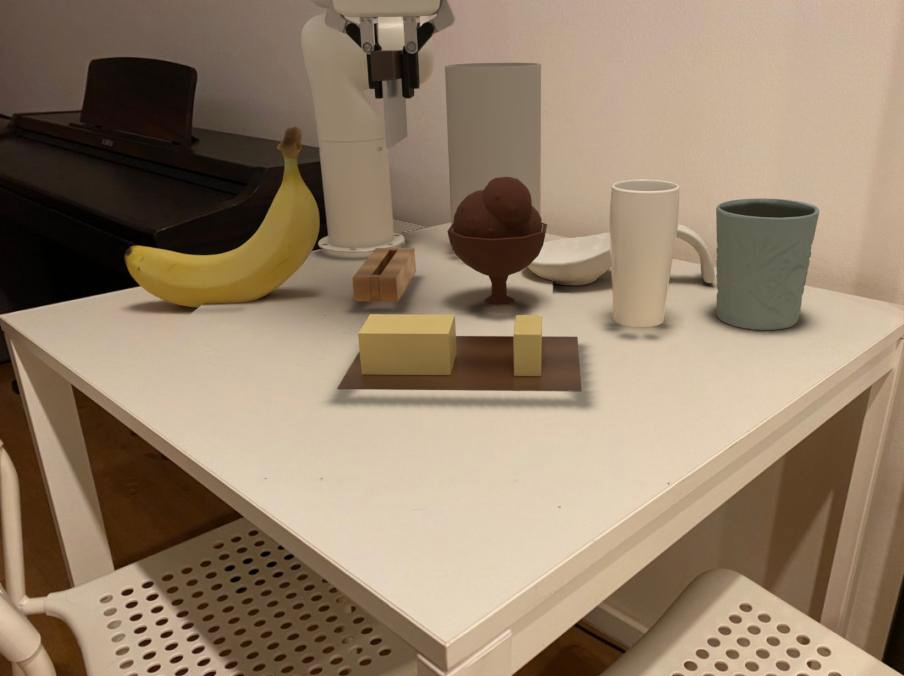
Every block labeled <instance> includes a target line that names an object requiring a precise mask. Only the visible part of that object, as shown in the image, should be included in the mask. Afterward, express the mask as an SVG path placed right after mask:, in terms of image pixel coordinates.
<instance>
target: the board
mask: <svg viewBox="0 0 904 676" xmlns="http://www.w3.org/2000/svg"><path fill="white" fill-rule="evenodd" d="M456 351H457V355H456V358H455V361H454V365H453V368H452V371H451V375H362V372H361V361H360V350H359V351H358V353H357V354H356V356H355V358H354V359H353V361H352V362H351V364H350V366H349V367H348V369H347V370H346V373H345V374H344V376H343V378H342V380H341V381H340V383H339V384H338V386H337V388H336V390H378V391H379V390H380V391H381V390H385V391H387V390H388V391H471V392H472V391H474V392H475V391H478V392H479V391H482V392H484V391H488V392H490V391H491V392H574V393H575V392H579V393H580V392H581V393H582V390H583V389H582V378H581V377H582V376H581V365H580V363H581V362H580V352H579V351H580V350H579V337H578V336H554V335H553V336H552V335H551V336H547V335H546V336H545V335H544V336H543V335H542V364H541V376H514V346H513V335H456Z"/></svg>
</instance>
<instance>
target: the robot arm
mask: <svg viewBox="0 0 904 676" xmlns="http://www.w3.org/2000/svg"><path fill="white" fill-rule="evenodd" d="M310 1H311V2H312V3H313V5H315V6H317V7H318V8H323V9H326V10H327V11H326V12H324V13H320V14H318V15H314V16H313V17H311V18H310V19H309V20H308V21H306V23H305V24H304V25H303V28H302V29H301V32H300V33H301V34H300V46H301V47H300V48H301V53H302V59H303V62H304V67H305V71H306V74H307V78H308V83H309V86H310V92H311V96H312V101H313V102H312V104H313V109H314V117H315V125H316V134H317V142H318V143H317V144H318V151H319V161H320V170H321V181H322V191H323V201H324V209H325V210H324V211H325V219H326V229H327V230H326V231H327V236H323V237H322V238H321V239H319V240H318V242H317V246H318V247H319V248H320V249H322V250H325V251H329V252H335V253H348V254H351V253H352V254H353V253H355V254H356V253H358V254H359V253H369V252H371V253H372V252H373V251H374V250H375V248H397V247H399V246H400V245H405V244H406V238H405V236H404V235H403V234H401V233H398V232H395V229H394V217H393V216H394V215H393V202H392V189H391V188H392V187H391V173H390V160H389V148H386V136H385V120H384V115H383V114H382V112H381V111H380V110H379V108H378V107H376V105H375V104H374V103H373V102H372V101H371V100H370V99H369V97H368V96H366V93H365V91H366V90H368V89H369V90H374V99H376V100H381V99H383V87H382V81H372V69H371V54H370V51H378V50H396V49H403V54H402V55H401V73H402V78H401V82H402V96H403V97H404V98H405V99H406V100H407V99H409V100H410V99H412V98H413V97H415V90H418V89H420V87H421V86H420V85H422V84H424V83H427V81H428V80H429V79H430V78H431V76H432V74H433V70H434V65H435V51H434V41H433V36H434V35H435V34H437V33H440V32H442V31H443V30H446V29H448V28H450V27H452V26H453V25H455V24H456V21H457V20H456V16H455V13H454V11H453V9H452V6H451V4H450V1H449V0H310ZM435 15H436V16H435ZM430 16H435V17H434V18H431V19H430Z"/></svg>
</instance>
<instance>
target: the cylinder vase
mask: <svg viewBox="0 0 904 676" xmlns="http://www.w3.org/2000/svg"><path fill="white" fill-rule="evenodd" d="M444 79H445V81H444V82H445V102H446V103H445V105H446V130H447V152H448V154H447V155H448V177H449V181H448V182H449V203H450V205H449V207H450V225H452V224H453V221H454V215H455V213H456V210H457V207H458V206H459V205H460V203H461V202H462V201H463V200H464V199H465V198H466V196H467V195H469V194H471V193H473V192H475V191H479V190H484V189H485V187H486V186H487V185H488V183H489V182H490V181H491V180H492V179H494V178H499V177H512V178H516V179H519V180H520V181H521V182H522V183H523V184H524V185H525V186H526V187H527V188H528V190H529V192H530V194H531V199H532V206H533V207H534V208H535V209H536V210H537V211H538V212H539V214H540V215H541V210H542V209H541V205H542V203H541V199H542V197H541V193H542V192H541V191H542V189H541V188H542V186H541V184H542V183H541V181H542V179H541V178H542V177H541V175H542V174H541V173H542V167H541V165H542V163H541V162H542V152H541V151H542V63H538V62H472V63H471V62H470V63H469V62H468V63H453V64H445V65H444ZM451 248H452V247H451ZM452 250H453V248H452Z"/></svg>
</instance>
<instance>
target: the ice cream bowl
mask: <svg viewBox="0 0 904 676" xmlns="http://www.w3.org/2000/svg"><path fill="white" fill-rule="evenodd" d="M450 225H451V224H450ZM547 228H548V224H547V223H545V222H543V221H542V216H541V213H540V214H539V212H538V211H537V210H536V209H535V208H534V207H533V206H532V199H531V194H530V192H529V190H528V188H527V187H526V186H525V185H524V184H523V183H522V182H521V181H520V180H519V179H516V178H512V177H499V178H494V179H492V180H491V181H490V182H489V183H488V185H487V186H486V187H485V189H484V190H479V191H475V192H473V193H471V194H469V195H467V196H466V198H465V199H464V200H463V201H462V202H461V203H460V205H459V206H458V207H457V210H456V213H455V215H454V221H453V224H452V225H451V226H449V228H448V229H447V231H446V233H447V235H448V240H449V245H450V246H451V248H453V249H452V251H453V252H454V255H455V256H456V257H457V258H458V259H460V260H461V261H462V262H463V263H464V264H465V265H466V266H468V267H469V268H470V269H472V270H474V271H476V272H478V273H480V274H482V275H484V276H488V278H489V281H490V282H491V294H490V295H489V296H487V297H486V298H485V299H484V301H483V302H484V303H485V304H488V305H491V306H506V305H509V304H513V303H514V302H515V298H513V297H511V296H510V295H508V288H507V282H508V278H509V277H510V276H512V275H514V274H517V273H520V272H522V271H523V270H525V269H526V268H527V267H528V266H529V265H530V264H531V263H532V262H533V261H534V260H535V259H536V258H537V257H538V256H539V253H540V251H541V249H542V247H543V244H544V242H545V239H546V233H547Z"/></svg>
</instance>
